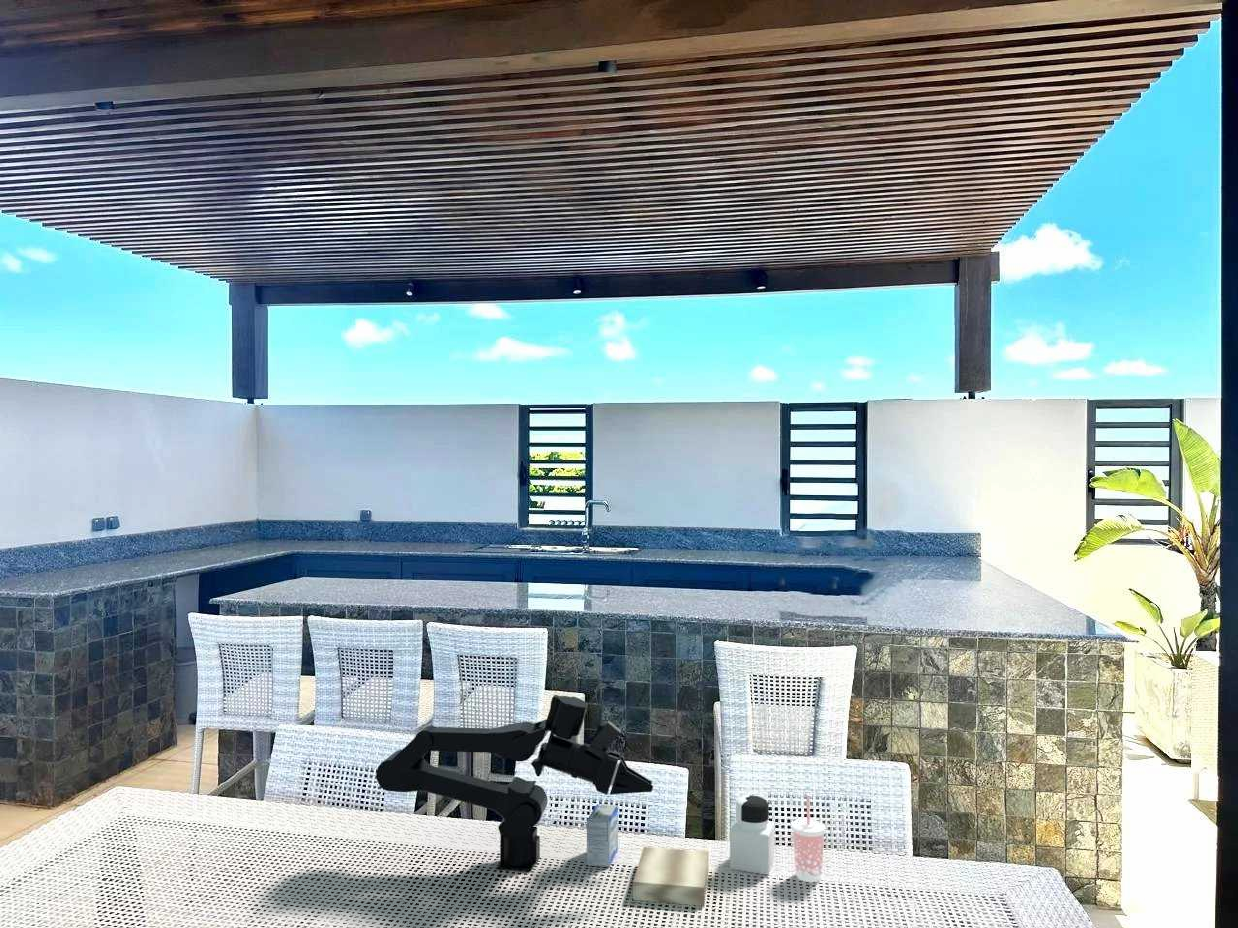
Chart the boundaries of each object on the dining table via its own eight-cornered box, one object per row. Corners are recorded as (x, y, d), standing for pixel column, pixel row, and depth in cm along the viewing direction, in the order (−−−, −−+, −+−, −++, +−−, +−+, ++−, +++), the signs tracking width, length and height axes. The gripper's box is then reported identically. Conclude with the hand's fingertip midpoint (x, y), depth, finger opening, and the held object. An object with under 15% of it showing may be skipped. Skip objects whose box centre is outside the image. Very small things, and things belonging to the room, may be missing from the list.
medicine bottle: (774, 859, 151) (774, 794, 151) (768, 875, 144) (768, 808, 145) (737, 853, 153) (736, 790, 154) (729, 869, 146) (729, 803, 147)
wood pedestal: (633, 899, 135) (633, 881, 135) (643, 863, 149) (643, 846, 149) (704, 905, 133) (704, 887, 133) (708, 868, 147) (708, 851, 147)
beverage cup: (827, 885, 140) (826, 804, 141) (791, 882, 142) (791, 801, 142) (825, 870, 146) (824, 792, 147) (791, 866, 148) (790, 789, 148)
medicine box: (609, 868, 147) (609, 820, 147) (586, 866, 148) (586, 818, 148) (618, 850, 154) (618, 804, 155) (595, 848, 155) (596, 802, 156)
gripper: (582, 715, 142) (666, 744, 140) (588, 715, 160) (663, 740, 158) (562, 778, 139) (647, 809, 137) (570, 771, 157) (646, 798, 155)
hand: (651, 786), depth 147 cm, fingers open, 9 cm apart
